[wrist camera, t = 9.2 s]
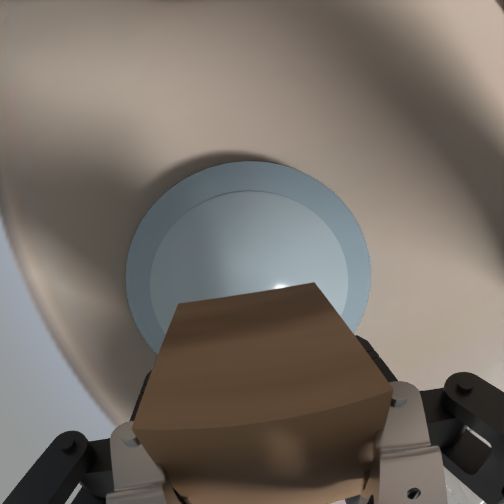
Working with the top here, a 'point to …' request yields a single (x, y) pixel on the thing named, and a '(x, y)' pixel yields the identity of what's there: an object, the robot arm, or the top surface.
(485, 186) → the top surface
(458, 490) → the cylinder with rectangular tab
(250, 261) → the dish
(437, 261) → the top surface
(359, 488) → the walnut block
